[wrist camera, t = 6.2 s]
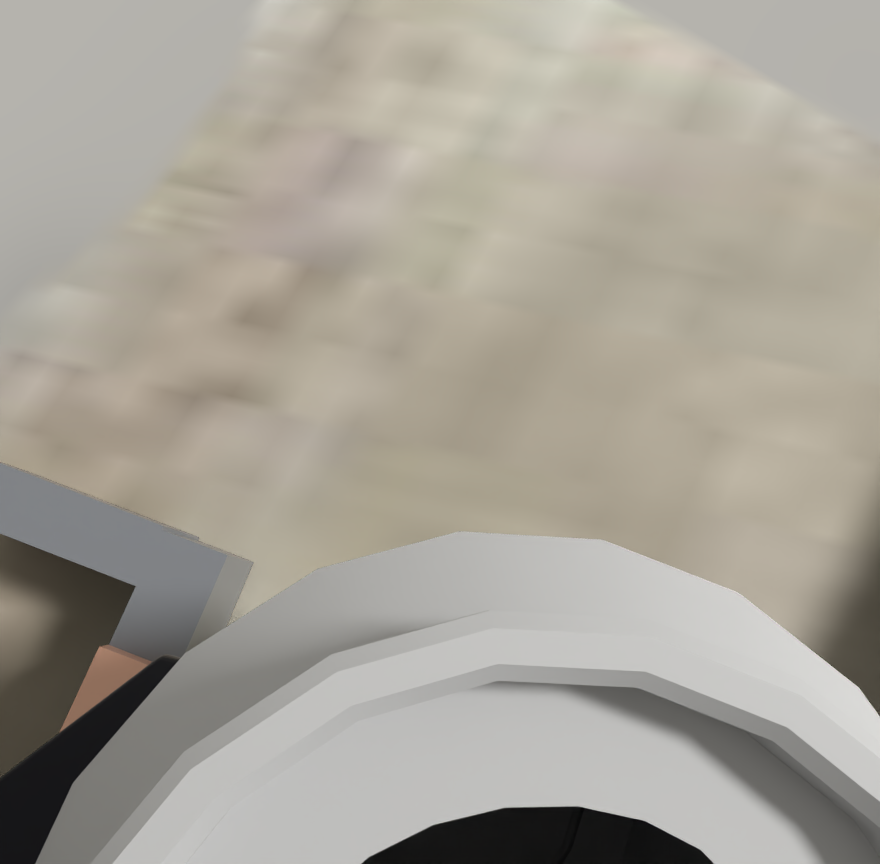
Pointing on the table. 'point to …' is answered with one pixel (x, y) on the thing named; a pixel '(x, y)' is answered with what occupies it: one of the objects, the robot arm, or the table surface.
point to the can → (489, 725)
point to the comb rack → (126, 574)
